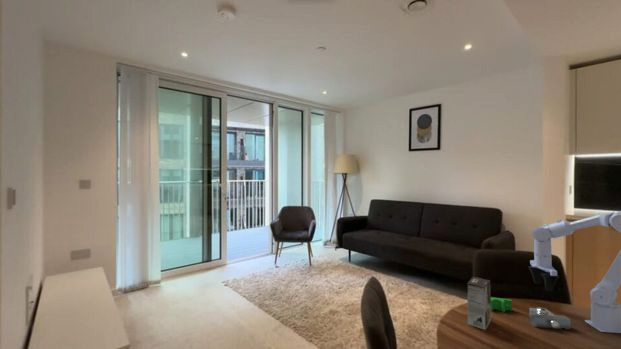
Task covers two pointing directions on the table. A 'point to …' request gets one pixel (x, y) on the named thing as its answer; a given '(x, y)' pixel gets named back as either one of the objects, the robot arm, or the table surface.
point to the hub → (539, 311)
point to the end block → (550, 321)
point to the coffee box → (479, 302)
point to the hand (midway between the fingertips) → (543, 287)
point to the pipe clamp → (501, 304)
